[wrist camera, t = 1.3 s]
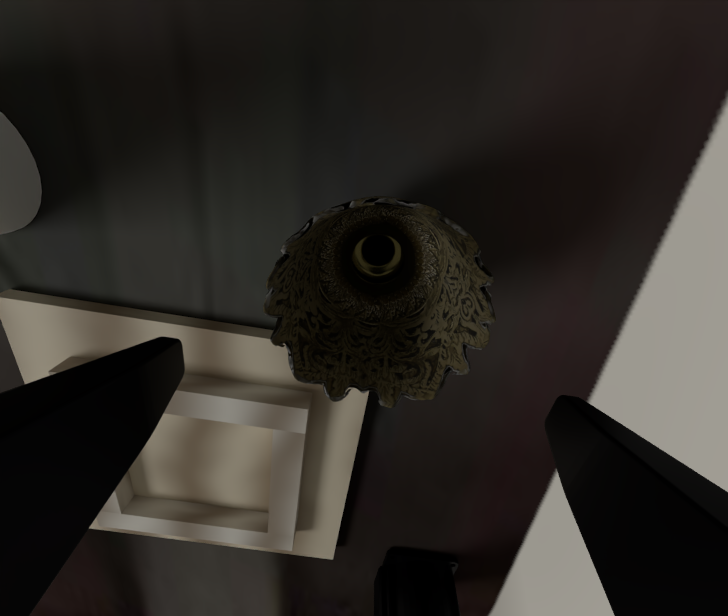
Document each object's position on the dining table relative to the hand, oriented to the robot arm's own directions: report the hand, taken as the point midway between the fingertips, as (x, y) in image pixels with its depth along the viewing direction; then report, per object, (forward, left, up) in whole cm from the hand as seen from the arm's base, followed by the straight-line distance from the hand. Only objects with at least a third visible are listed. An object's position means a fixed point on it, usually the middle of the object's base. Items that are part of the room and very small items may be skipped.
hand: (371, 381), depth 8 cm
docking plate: (+10, +17, -11) cm, 22 cm away
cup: (0, 0, -11) cm, 11 cm away
